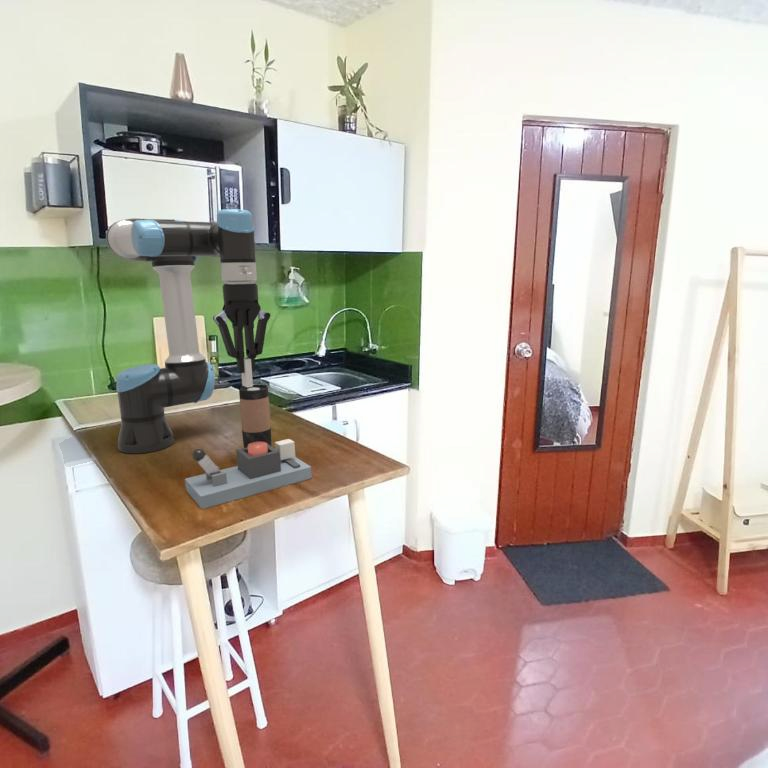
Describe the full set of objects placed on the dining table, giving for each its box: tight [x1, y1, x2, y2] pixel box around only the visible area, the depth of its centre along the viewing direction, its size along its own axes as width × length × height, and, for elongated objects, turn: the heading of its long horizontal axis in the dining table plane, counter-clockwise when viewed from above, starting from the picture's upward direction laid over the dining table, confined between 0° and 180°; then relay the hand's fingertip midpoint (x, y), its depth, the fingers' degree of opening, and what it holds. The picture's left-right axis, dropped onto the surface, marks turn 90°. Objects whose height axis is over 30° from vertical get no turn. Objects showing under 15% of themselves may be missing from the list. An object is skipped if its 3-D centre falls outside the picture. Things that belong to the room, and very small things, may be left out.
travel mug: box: [238, 383, 273, 448], centre depth 140 cm, size 8×8×20 cm
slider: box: [274, 438, 296, 460], centre depth 131 cm, size 3×4×4 cm
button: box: [248, 442, 268, 456], centre depth 125 cm, size 5×5×6 cm
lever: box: [192, 448, 221, 478], centre depth 118 cm, size 3×3×8 cm
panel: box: [184, 444, 313, 510], centre depth 124 cm, size 12×27×8 cm, turn 126°
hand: (247, 385), depth 120 cm, fingers closed
